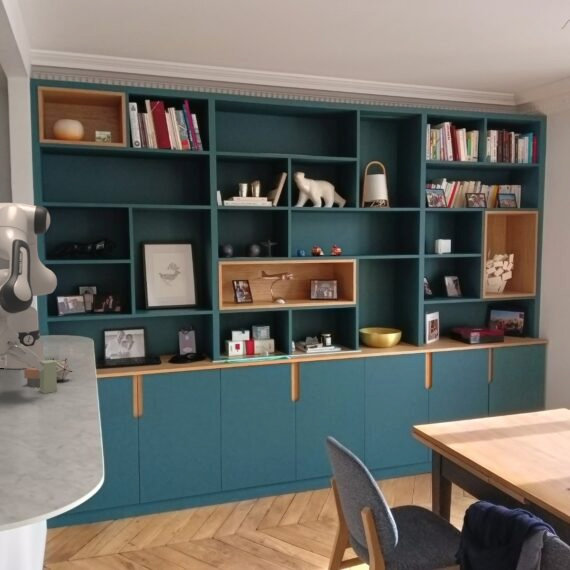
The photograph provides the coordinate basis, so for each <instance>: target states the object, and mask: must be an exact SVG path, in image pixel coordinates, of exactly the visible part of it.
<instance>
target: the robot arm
mask: <svg viewBox="0 0 570 570" xmlns="http://www.w3.org/2000/svg"><path fill="white" fill-rule="evenodd" d="M50 224H51V215H50V213H49V210H48V209H47V208H46V207H44V206H42V205H34V204H33V205H32V204H28V203H21V202H0V259H2V260H3V259H4V260H6V261H9V267H8V268H3V269H0V357H1V358H0V368H4V369H3V370H5V369H12V370H13V369H15V370H16V369H17V370H19V369H22V370H23V369H27V368H36V369H37V370H38V371H40V372H41V371H42V370H43V369H44V367H43V366H42V365H41V364H40V363H39V361H47V360H48V359H45V349H44V347H45V346H44V343H43V342H42V341H41V340H40V338H41V337H40V335H41V333H40V329H39V312H38V311H37V309H36V308H35V307H34V306H32V303H33V302H34V301H33V300H34V296H35V297H39V296H46V295H49V294H52V293H54V291H55V290H56V288H57V285H58V279H57V276H56V274H55V272H53V271H52V270H51V269H49V268H48V267H46V266H45V265H44V264H43V263H42V261H41V260H40V258H39V252H38V235H43V234H45V233H46V232H47V231H48V229H49V227H50V226H51V225H50ZM6 319H7V323H6V322H5V320H6Z"/></svg>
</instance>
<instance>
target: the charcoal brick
mask: <svg viewBox="0 0 570 570" xmlns="http://www.w3.org/2000/svg"><path fill="white" fill-rule="evenodd" d="M26 385H27V386H28V385H29V387H31V388H33V387H34V388H33V389H36V388H35V387H37V388H40V379H34V378H26Z"/></svg>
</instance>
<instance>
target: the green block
mask: <svg viewBox="0 0 570 570" xmlns="http://www.w3.org/2000/svg"><path fill="white" fill-rule="evenodd" d="M46 360H47V361H39V363H40V364H41V365H42V366H43V367H44V369H43V370H42V371H41V372H40V387H39V391H40V392H41V393H43V394H49V392H51V393H55V392H56V391H58V385H57V381H58V380H57V375H56V361H53V360H52V359H46Z"/></svg>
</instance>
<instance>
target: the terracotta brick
mask: <svg viewBox="0 0 570 570" xmlns="http://www.w3.org/2000/svg"><path fill="white" fill-rule="evenodd" d="M23 369H24V371H23V372H24V373H23V374H24V375H23V377H24V379H27V378H34V379H40V371H38V370H37V369H36V368H35V367H32V368H23Z"/></svg>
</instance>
